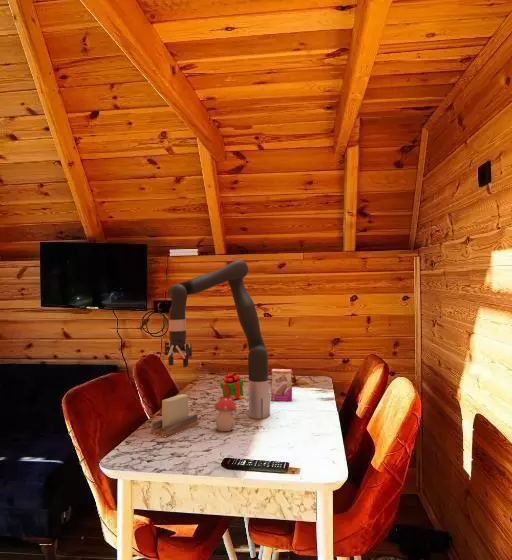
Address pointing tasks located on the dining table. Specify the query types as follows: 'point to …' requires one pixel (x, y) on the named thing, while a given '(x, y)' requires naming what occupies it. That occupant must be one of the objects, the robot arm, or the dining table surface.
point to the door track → (174, 426)
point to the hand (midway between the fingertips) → (178, 366)
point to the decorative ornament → (225, 413)
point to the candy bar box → (281, 385)
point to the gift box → (232, 386)
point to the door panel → (175, 409)
